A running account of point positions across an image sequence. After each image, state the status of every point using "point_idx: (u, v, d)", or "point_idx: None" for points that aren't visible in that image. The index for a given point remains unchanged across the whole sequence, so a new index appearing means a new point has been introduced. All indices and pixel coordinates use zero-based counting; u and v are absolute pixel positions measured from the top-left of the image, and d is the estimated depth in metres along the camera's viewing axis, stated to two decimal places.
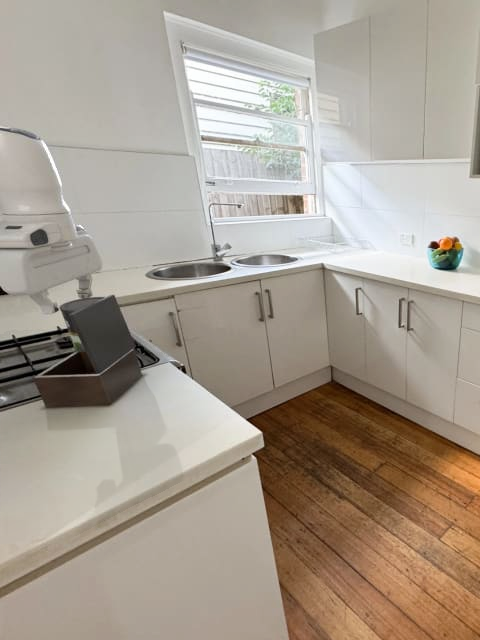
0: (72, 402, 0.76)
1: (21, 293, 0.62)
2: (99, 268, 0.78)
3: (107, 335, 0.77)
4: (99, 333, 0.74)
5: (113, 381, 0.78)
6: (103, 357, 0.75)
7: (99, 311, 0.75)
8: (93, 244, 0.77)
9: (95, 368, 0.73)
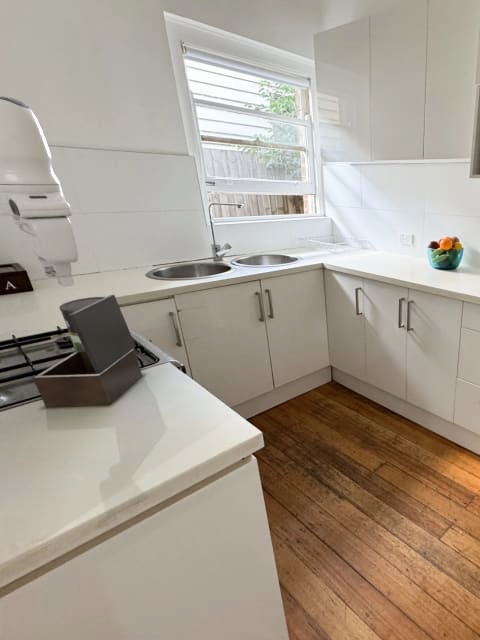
0: (72, 402, 0.76)
1: (70, 260, 0.64)
2: None
3: (107, 335, 0.77)
4: (99, 333, 0.74)
5: (113, 381, 0.78)
6: (103, 357, 0.75)
7: (99, 311, 0.75)
8: None
9: (95, 368, 0.73)
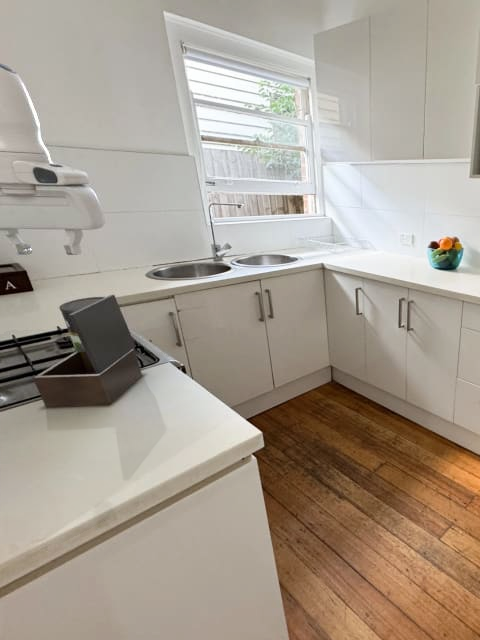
0: (72, 402, 0.76)
1: (101, 225, 0.70)
2: None
3: (107, 335, 0.77)
4: (99, 333, 0.74)
5: (113, 381, 0.78)
6: (103, 357, 0.75)
7: (99, 311, 0.75)
8: None
9: (95, 368, 0.73)
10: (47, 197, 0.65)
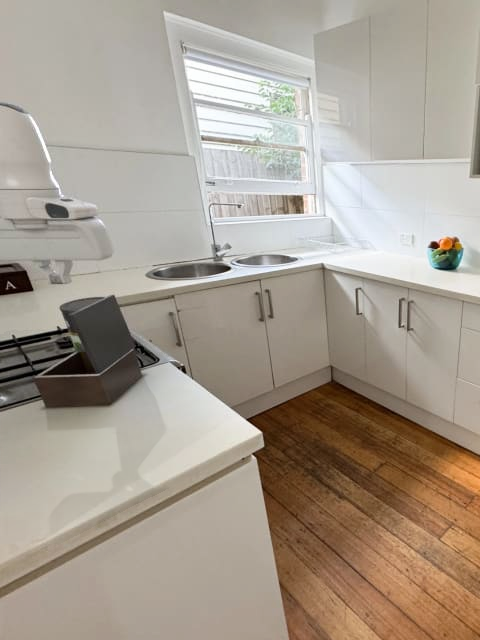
0: (72, 402, 0.76)
1: (110, 255, 0.72)
2: None
3: (107, 335, 0.77)
4: (99, 333, 0.74)
5: (113, 381, 0.78)
6: (103, 357, 0.75)
7: (99, 311, 0.75)
8: None
9: (95, 368, 0.73)
10: (59, 230, 0.67)
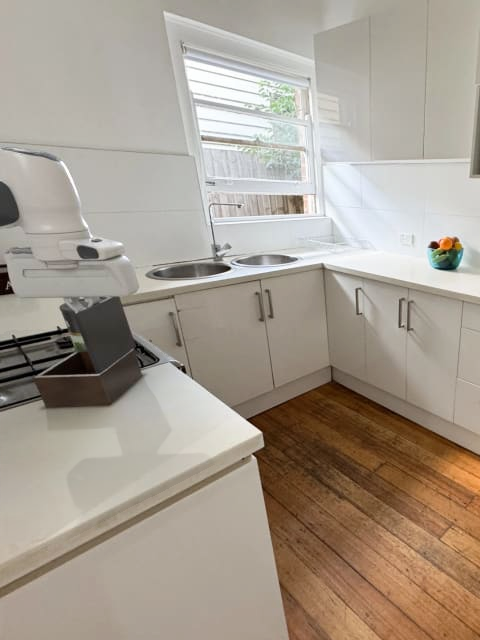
0: (72, 402, 0.76)
1: (136, 291, 0.75)
2: None
3: (110, 335, 0.77)
4: (101, 333, 0.75)
5: (113, 381, 0.78)
6: (104, 357, 0.75)
7: (103, 311, 0.75)
8: None
9: (96, 368, 0.73)
10: (88, 269, 0.70)
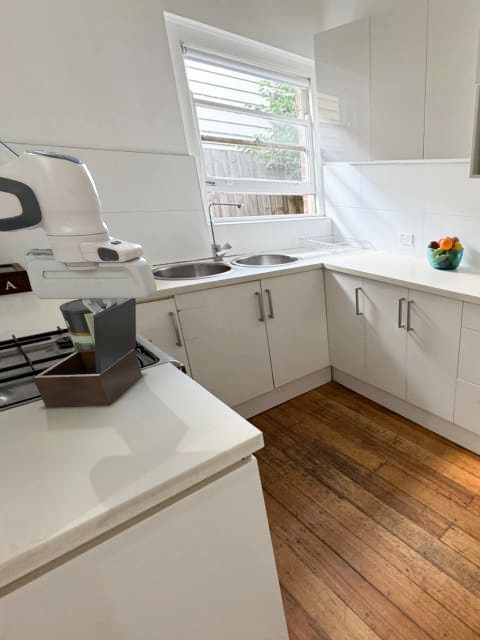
0: (72, 402, 0.76)
1: (153, 292, 0.76)
2: None
3: (118, 336, 0.77)
4: (112, 335, 0.75)
5: (113, 381, 0.78)
6: (108, 358, 0.75)
7: (119, 313, 0.76)
8: None
9: (98, 368, 0.73)
10: (108, 271, 0.71)
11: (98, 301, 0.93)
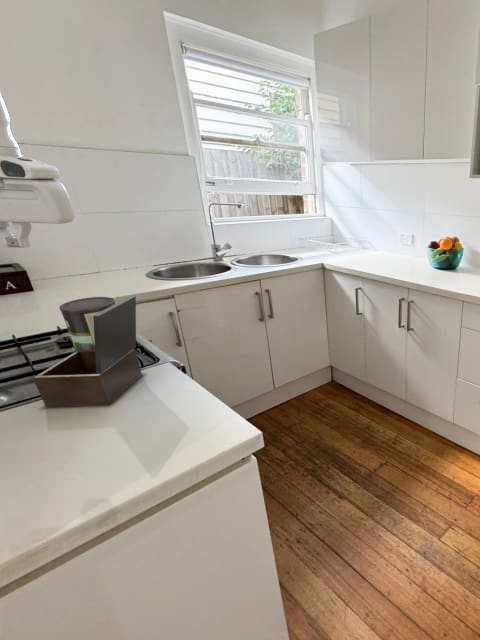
0: (72, 402, 0.76)
1: (70, 220, 0.70)
2: None
3: (118, 336, 0.77)
4: (112, 335, 0.75)
5: (113, 381, 0.78)
6: (108, 358, 0.75)
7: (119, 313, 0.76)
8: None
9: (98, 368, 0.73)
10: (16, 190, 0.66)
11: (98, 301, 0.93)
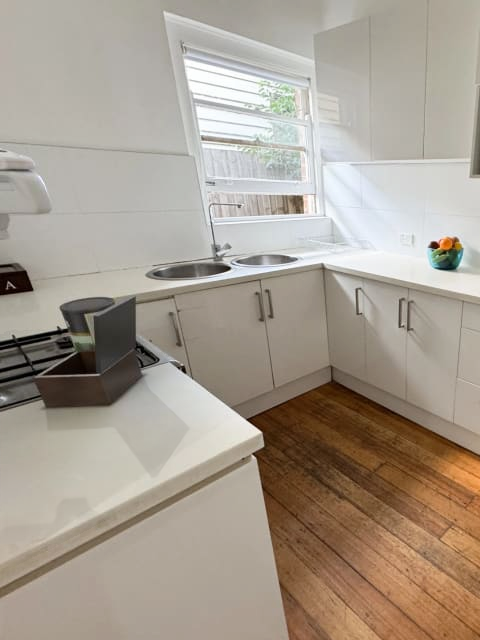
0: (72, 402, 0.76)
1: (48, 210, 0.71)
2: None
3: (118, 336, 0.77)
4: (112, 335, 0.75)
5: (113, 381, 0.78)
6: (108, 358, 0.75)
7: (119, 313, 0.76)
8: None
9: (98, 368, 0.73)
10: None
11: (98, 301, 0.93)
